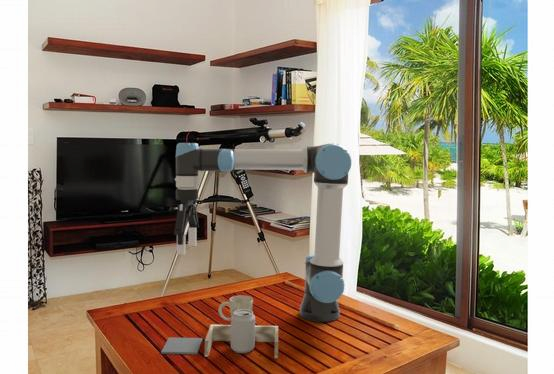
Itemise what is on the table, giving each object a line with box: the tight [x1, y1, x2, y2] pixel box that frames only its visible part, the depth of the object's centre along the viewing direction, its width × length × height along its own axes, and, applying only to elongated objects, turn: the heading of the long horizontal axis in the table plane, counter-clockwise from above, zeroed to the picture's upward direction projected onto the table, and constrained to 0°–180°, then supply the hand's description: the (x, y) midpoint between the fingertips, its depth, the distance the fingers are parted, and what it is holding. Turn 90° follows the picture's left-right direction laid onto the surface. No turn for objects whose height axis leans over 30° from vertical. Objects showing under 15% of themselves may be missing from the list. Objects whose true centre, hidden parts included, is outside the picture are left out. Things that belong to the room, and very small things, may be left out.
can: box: [230, 309, 256, 354], centre depth 150 cm, size 8×8×12 cm
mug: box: [218, 295, 254, 322], centre depth 169 cm, size 8×13×10 cm, turn 78°
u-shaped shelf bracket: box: [204, 324, 279, 359], centre depth 151 cm, size 22×13×5 cm, turn 90°
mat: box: [160, 336, 204, 355], centre depth 151 cm, size 11×11×1 cm
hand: (186, 249), depth 165 cm, fingers open, 13 cm apart
